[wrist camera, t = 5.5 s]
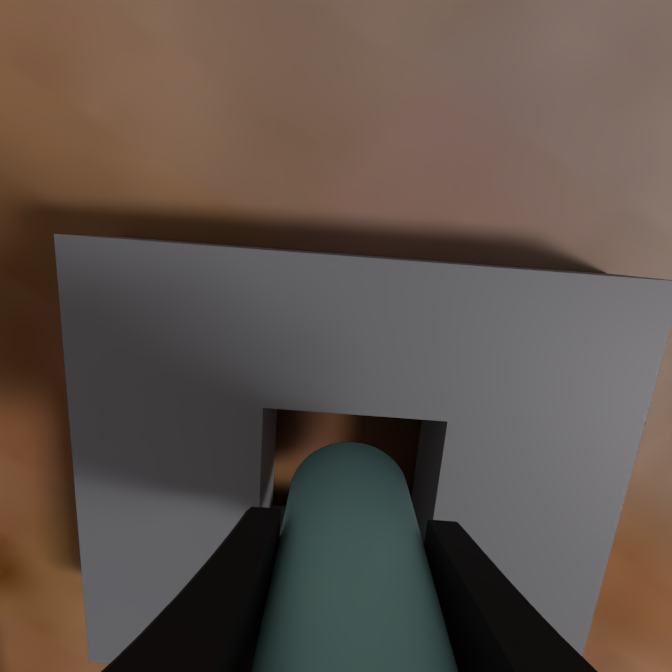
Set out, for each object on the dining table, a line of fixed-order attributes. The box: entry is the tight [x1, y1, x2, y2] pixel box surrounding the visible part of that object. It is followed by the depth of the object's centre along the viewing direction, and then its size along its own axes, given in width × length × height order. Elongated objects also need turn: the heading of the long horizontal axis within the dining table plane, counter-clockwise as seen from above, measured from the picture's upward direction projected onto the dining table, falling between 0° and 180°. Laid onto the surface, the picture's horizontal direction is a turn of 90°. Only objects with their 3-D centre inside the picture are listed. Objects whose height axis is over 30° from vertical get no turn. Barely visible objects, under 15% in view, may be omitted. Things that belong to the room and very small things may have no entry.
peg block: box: [54, 234, 672, 664], centre depth 11 cm, size 14×12×2 cm
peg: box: [251, 442, 458, 672], centre depth 7 cm, size 3×3×6 cm
